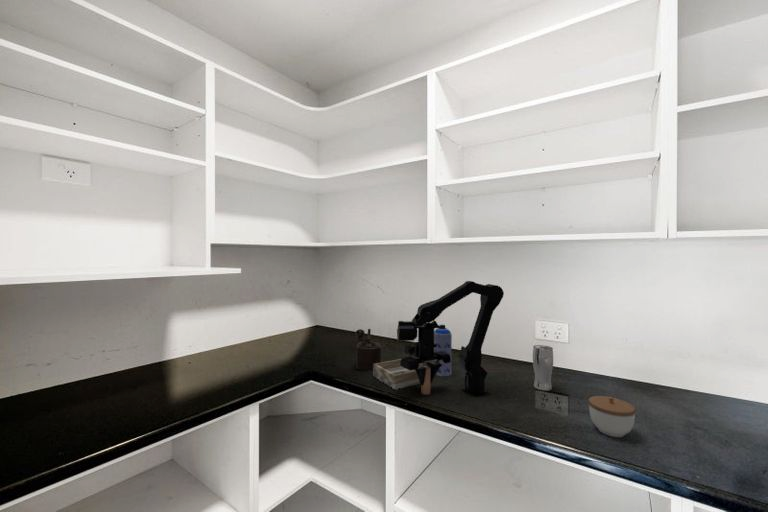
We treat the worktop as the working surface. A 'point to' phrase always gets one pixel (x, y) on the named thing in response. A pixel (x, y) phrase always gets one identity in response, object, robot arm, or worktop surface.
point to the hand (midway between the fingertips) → (425, 384)
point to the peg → (426, 382)
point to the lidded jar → (612, 415)
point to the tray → (395, 374)
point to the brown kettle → (366, 351)
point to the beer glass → (543, 366)
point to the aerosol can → (443, 348)
